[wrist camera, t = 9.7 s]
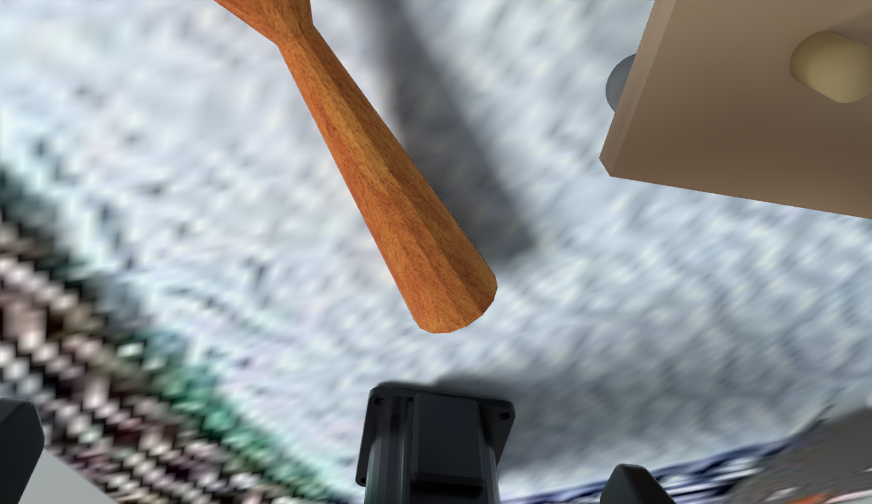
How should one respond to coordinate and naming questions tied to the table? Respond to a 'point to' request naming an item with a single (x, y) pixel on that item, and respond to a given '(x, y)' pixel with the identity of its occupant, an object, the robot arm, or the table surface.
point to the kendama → (379, 176)
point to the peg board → (749, 102)
